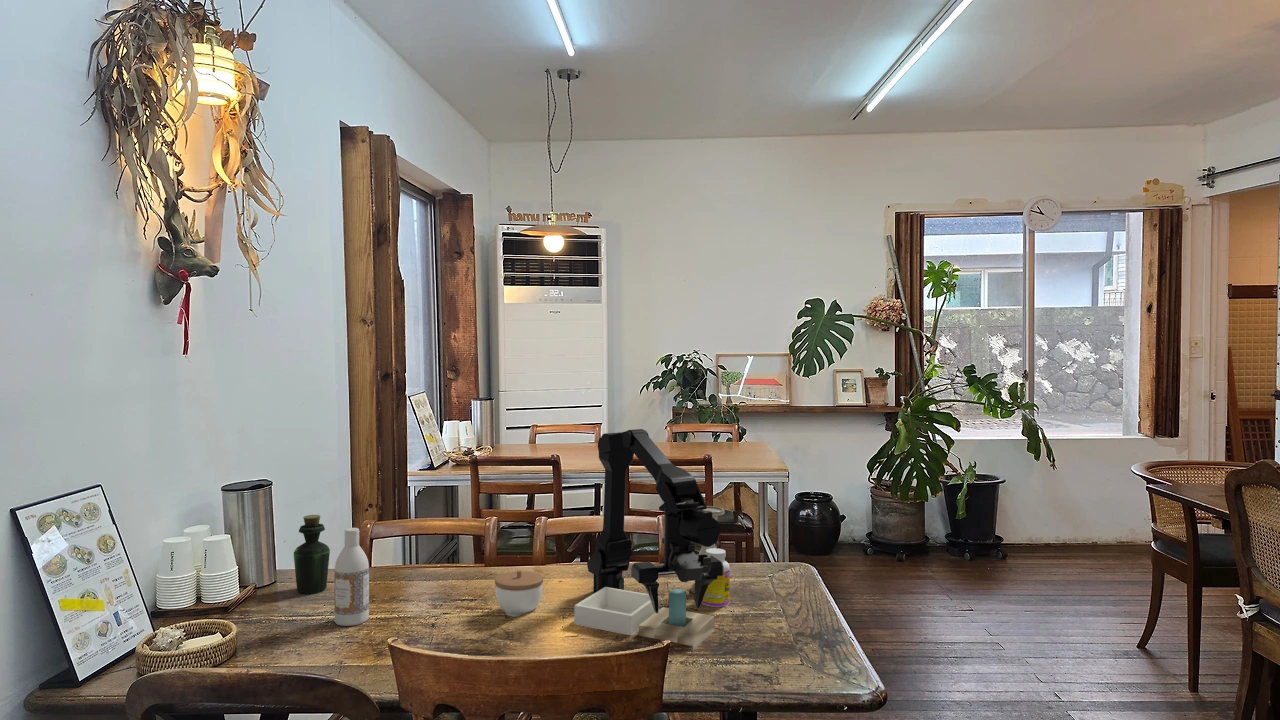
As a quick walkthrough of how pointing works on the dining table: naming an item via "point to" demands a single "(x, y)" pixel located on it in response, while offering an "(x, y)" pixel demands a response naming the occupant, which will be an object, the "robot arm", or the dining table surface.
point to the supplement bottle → (718, 582)
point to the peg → (677, 607)
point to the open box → (614, 610)
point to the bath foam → (351, 582)
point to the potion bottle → (311, 558)
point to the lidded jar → (518, 592)
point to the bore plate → (678, 628)
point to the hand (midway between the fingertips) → (677, 610)
